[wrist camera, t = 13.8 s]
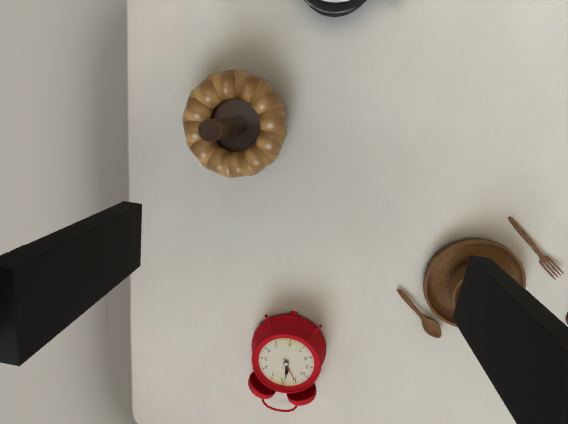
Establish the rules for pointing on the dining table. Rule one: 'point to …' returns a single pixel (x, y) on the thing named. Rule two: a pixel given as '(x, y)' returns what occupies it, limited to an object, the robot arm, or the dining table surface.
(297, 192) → the dining table surface
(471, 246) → the place setting
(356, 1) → the mug
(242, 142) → the peg
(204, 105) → the segmented ring
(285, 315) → the alarm clock
